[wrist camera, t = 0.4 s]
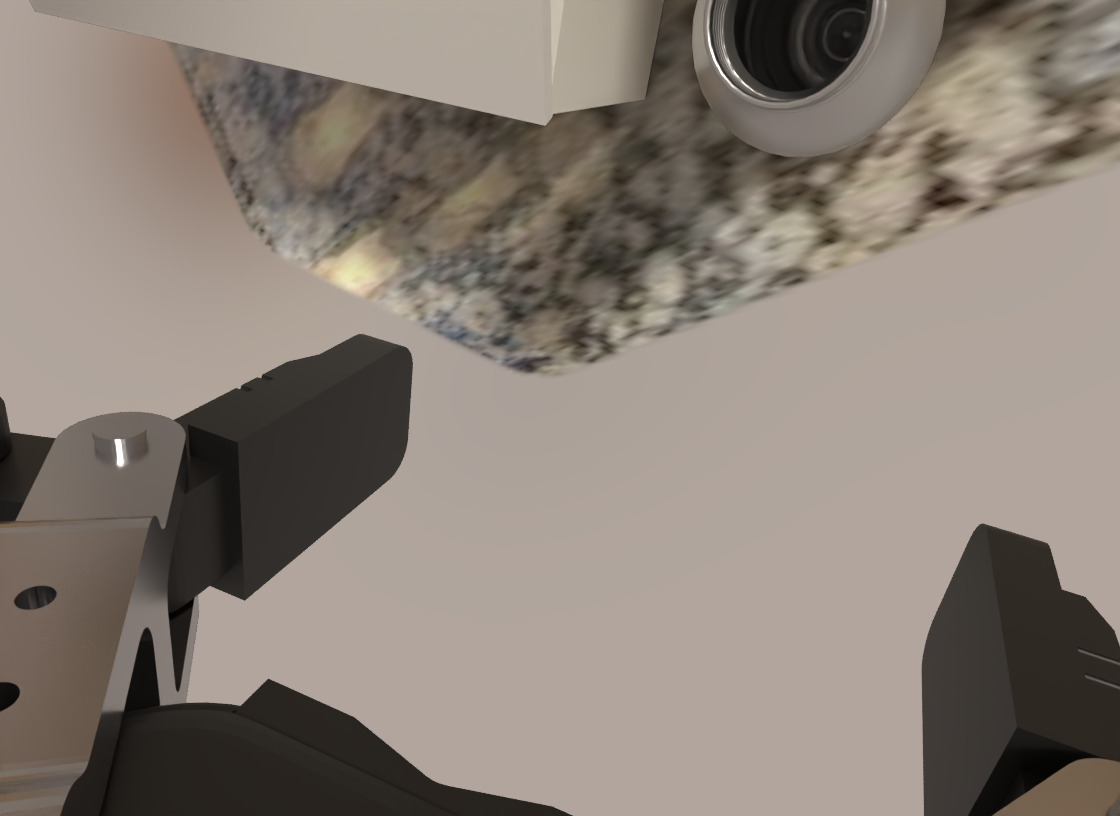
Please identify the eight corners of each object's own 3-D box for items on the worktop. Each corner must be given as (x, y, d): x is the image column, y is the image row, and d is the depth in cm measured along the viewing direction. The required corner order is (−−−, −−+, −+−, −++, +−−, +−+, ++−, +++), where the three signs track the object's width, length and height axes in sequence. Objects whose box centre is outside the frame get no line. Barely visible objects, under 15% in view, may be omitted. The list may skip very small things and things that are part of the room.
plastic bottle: (965, -33, 32) (1035, -139, 15) (887, 142, 35) (871, 223, 18) (804, -77, 33) (697, -221, 16) (744, 95, 36) (599, 130, 19)
